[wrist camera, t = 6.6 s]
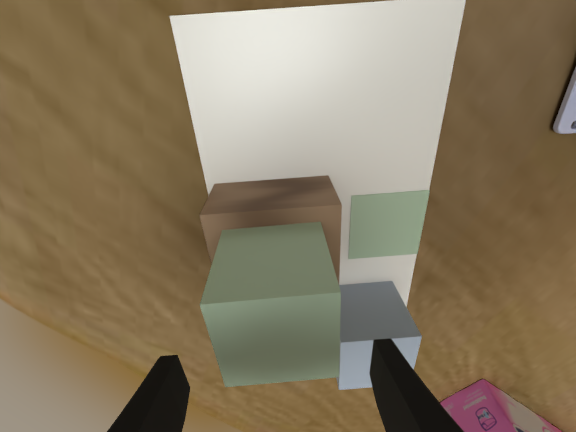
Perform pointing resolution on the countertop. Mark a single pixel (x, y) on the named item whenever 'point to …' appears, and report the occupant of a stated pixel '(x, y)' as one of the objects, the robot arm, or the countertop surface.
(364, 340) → the slate cube
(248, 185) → the walnut base
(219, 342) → the sage cube
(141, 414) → the robot arm
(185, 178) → the countertop surface
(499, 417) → the gum box
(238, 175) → the white rectangular board
